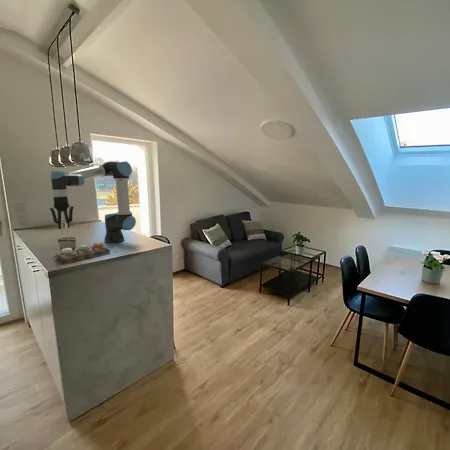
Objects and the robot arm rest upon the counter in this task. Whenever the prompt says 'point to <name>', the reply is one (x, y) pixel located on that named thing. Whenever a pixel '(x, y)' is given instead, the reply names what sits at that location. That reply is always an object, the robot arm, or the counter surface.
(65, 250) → the cream button
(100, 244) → the terracotta button
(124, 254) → the counter surface
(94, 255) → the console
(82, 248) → the sage button
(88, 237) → the counter surface
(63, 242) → the food container
